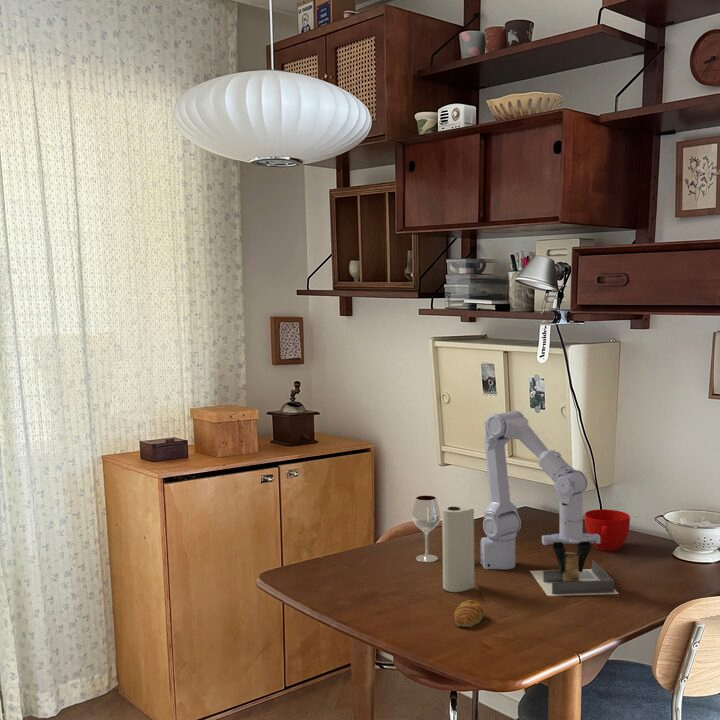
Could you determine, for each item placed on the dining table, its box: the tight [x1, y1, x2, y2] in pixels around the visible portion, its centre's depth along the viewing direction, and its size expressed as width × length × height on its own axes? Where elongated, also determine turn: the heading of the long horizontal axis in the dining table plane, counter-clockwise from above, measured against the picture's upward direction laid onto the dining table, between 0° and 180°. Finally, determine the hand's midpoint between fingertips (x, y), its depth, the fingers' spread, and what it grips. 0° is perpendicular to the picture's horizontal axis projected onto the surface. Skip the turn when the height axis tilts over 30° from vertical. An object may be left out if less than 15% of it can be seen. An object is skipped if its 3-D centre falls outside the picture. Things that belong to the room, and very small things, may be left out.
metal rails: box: [542, 559, 615, 594], centre depth 212 cm, size 16×16×3 cm
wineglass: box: [411, 495, 441, 563], centre depth 235 cm, size 8×8×18 cm
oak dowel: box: [563, 551, 579, 581], centre depth 208 cm, size 4×4×7 cm
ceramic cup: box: [584, 508, 631, 552], centre depth 241 cm, size 13×17×10 cm
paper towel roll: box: [441, 505, 475, 593], centre depth 210 cm, size 7×6×21 cm
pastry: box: [453, 599, 486, 628], centre depth 191 cm, size 9×7×4 cm
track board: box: [529, 568, 620, 597], centre depth 212 cm, size 18×18×1 cm
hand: (570, 571), depth 208 cm, fingers closed on oak dowel, 4 cm apart
